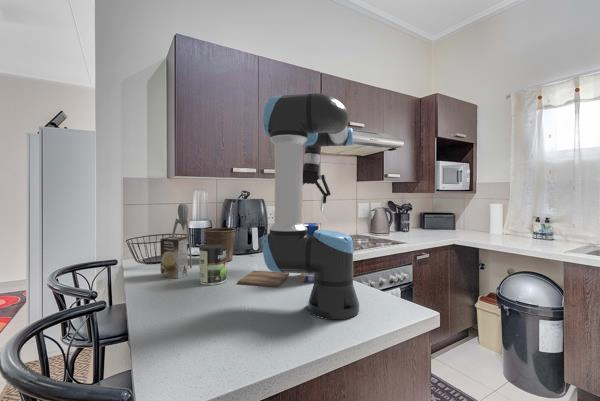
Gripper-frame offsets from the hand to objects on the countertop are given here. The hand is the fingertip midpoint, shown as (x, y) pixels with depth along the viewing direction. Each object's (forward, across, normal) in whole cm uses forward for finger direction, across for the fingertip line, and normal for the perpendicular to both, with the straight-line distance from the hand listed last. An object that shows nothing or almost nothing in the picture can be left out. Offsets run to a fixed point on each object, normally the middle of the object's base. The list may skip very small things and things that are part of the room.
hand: (307, 209), depth 139 cm
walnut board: (+30, +9, +21) cm, 38 cm away
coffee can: (+32, +28, +29) cm, 51 cm away
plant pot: (+30, +45, -3) cm, 54 cm away
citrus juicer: (+32, +54, +12) cm, 64 cm away
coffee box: (+33, +48, +27) cm, 64 cm away
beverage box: (+28, -8, +14) cm, 33 cm away
